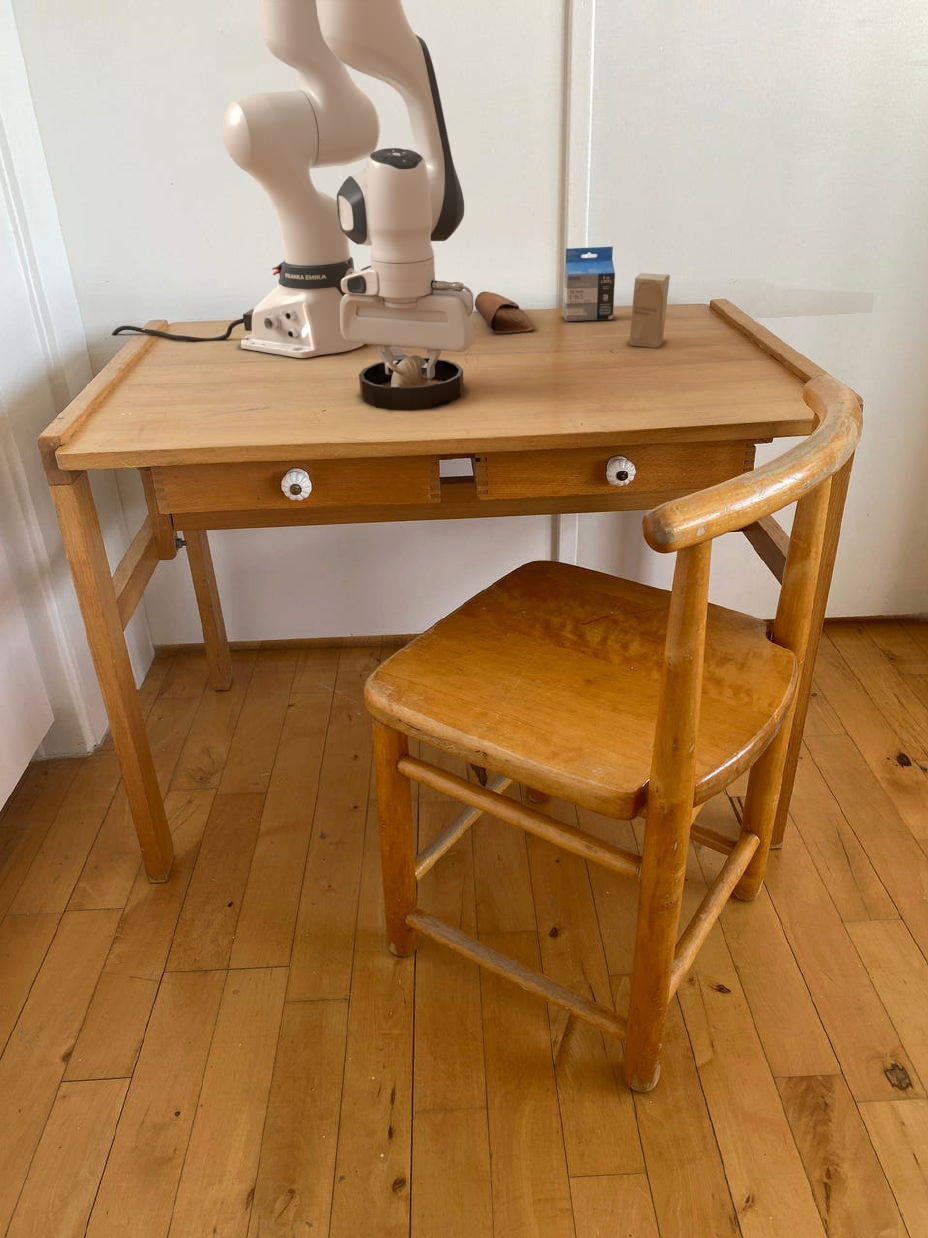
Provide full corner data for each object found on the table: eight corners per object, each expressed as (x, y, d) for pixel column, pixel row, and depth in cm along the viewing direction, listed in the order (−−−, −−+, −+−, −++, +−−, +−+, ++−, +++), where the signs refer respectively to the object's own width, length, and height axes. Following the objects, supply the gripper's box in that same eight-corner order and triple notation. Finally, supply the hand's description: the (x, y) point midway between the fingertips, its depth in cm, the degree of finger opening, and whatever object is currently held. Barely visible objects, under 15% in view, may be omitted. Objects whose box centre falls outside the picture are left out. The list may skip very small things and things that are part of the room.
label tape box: (565, 322, 170) (567, 251, 164) (563, 316, 174) (564, 247, 167) (613, 320, 170) (616, 249, 164) (610, 315, 174) (613, 245, 167)
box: (628, 345, 156) (632, 277, 150) (634, 339, 159) (638, 272, 153) (659, 348, 154) (665, 279, 148) (664, 341, 157) (670, 273, 151)
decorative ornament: (439, 388, 139) (437, 352, 136) (395, 401, 135) (392, 365, 132) (422, 382, 142) (420, 347, 139) (378, 395, 137) (375, 359, 134)
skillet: (473, 403, 133) (473, 381, 132) (369, 414, 131) (367, 392, 129) (436, 355, 155) (435, 336, 153) (346, 364, 152) (344, 345, 150)
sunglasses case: (537, 328, 165) (518, 296, 162) (504, 350, 167) (485, 320, 163) (516, 305, 181) (498, 276, 177) (486, 326, 182) (468, 297, 178)
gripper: (480, 277, 129) (482, 375, 136) (350, 270, 135) (359, 363, 143) (464, 287, 124) (467, 388, 131) (330, 279, 130) (340, 376, 138)
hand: (410, 375), depth 137 cm, fingers closed on decorative ornament, 4 cm apart
